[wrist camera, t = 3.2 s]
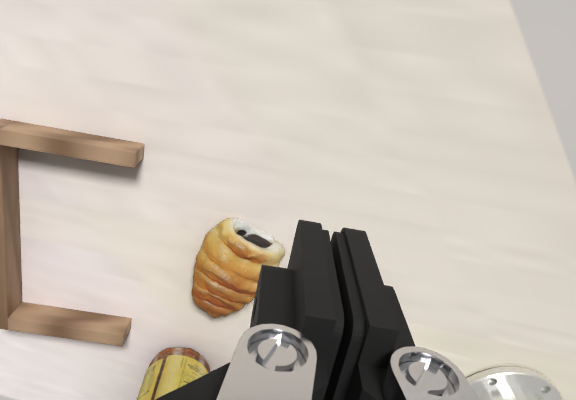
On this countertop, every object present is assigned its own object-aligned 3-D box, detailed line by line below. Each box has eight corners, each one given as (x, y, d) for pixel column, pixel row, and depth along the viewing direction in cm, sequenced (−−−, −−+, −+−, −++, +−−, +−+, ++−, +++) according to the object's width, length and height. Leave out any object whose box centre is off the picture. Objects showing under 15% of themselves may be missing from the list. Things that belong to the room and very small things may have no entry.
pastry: (241, 317, 45) (237, 344, 42) (176, 287, 44) (166, 312, 40) (290, 239, 42) (290, 261, 39) (221, 205, 41) (214, 224, 37)
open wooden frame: (144, 143, 38) (135, 153, 36) (130, 328, 45) (122, 346, 43) (1, 118, 38) (-18, 126, 35) (9, 310, 45) (-6, 327, 42)
